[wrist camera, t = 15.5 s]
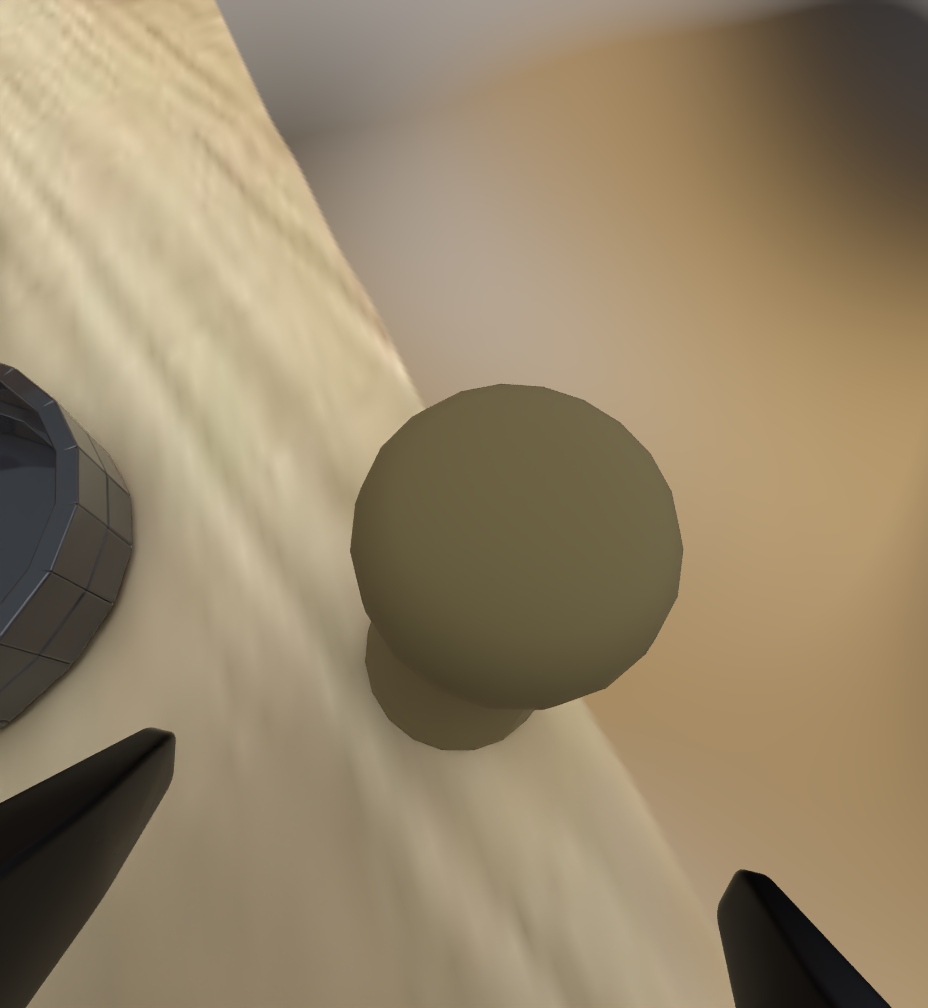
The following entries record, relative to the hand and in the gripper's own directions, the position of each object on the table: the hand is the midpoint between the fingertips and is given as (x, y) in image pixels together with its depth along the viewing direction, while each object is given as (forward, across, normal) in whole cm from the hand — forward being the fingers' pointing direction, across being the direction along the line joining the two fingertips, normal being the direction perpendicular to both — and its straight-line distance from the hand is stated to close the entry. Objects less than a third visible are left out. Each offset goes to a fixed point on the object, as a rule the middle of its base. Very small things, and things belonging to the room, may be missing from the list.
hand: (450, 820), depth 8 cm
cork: (+8, 0, +2) cm, 9 cm away
